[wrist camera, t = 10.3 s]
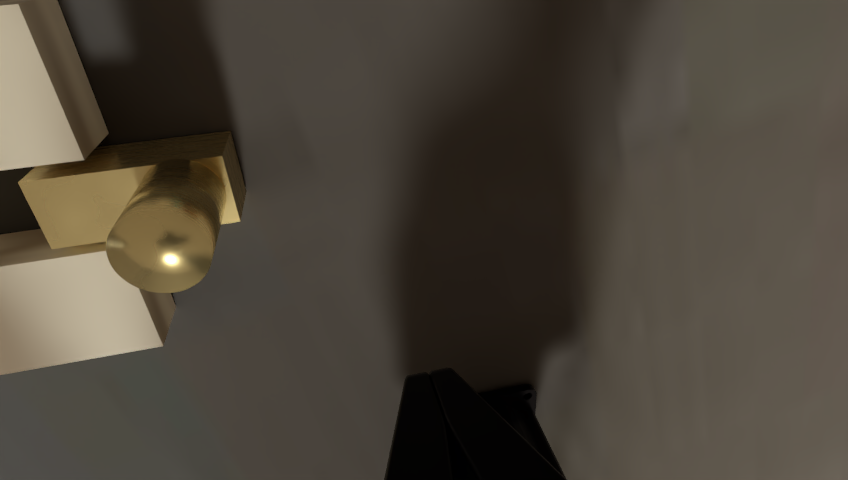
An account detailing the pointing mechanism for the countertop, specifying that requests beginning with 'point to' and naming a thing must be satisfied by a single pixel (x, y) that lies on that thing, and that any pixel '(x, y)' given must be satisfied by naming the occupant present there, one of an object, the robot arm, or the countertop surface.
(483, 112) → the countertop surface
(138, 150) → the pin
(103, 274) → the dock
